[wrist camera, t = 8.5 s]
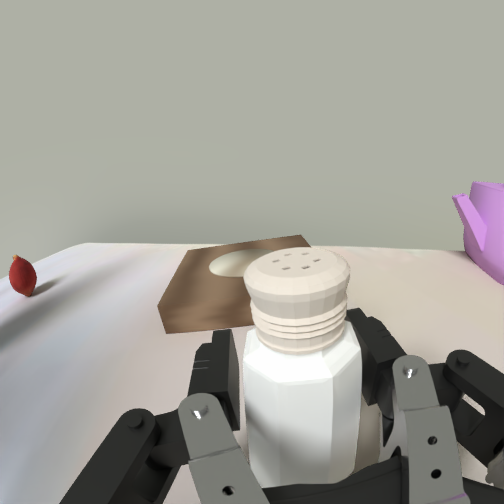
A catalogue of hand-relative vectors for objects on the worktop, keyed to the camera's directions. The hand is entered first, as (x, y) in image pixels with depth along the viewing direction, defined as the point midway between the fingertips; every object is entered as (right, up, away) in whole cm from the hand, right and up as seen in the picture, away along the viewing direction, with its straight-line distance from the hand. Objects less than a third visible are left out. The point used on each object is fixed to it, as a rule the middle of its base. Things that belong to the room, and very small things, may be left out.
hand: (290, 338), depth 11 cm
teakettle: (+33, +2, +14) cm, 36 cm away
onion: (-42, -5, +25) cm, 49 cm away
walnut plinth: (-2, 0, +20) cm, 20 cm away
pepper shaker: (+1, -7, 0) cm, 7 cm away
